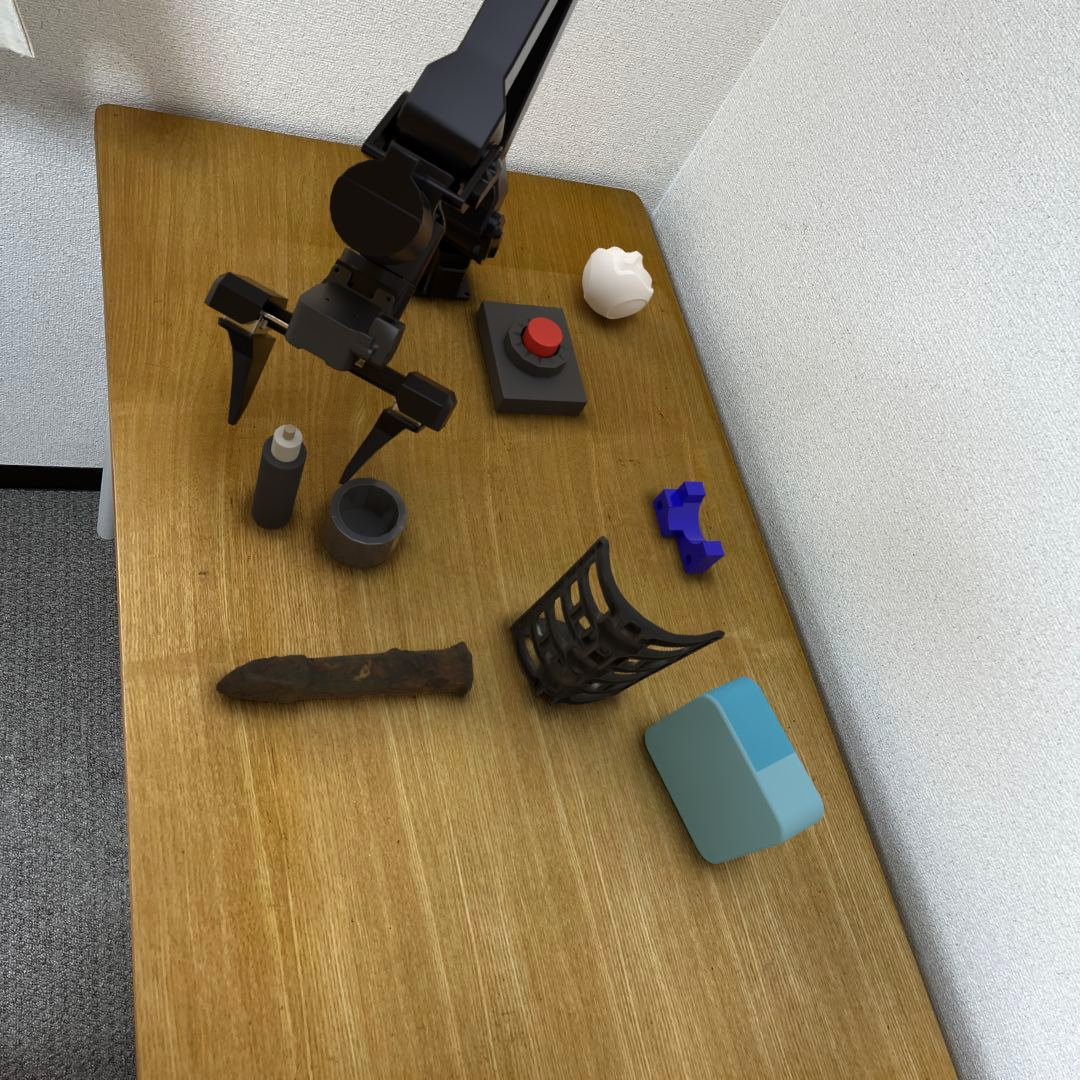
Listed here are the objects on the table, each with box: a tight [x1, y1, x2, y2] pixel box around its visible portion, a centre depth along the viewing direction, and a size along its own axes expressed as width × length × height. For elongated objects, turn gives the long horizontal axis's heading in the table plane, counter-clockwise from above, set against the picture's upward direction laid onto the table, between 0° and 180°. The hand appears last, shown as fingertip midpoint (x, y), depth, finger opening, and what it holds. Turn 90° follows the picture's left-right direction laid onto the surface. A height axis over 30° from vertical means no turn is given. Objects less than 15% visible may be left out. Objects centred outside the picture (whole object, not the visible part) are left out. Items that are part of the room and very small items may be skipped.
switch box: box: [475, 300, 589, 416], centre depth 90 cm, size 12×9×4 cm
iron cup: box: [321, 476, 408, 569], centre depth 74 cm, size 6×6×4 cm
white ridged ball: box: [581, 246, 654, 320], centre depth 97 cm, size 8×8×8 cm
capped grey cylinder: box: [250, 423, 308, 530], centre depth 69 cm, size 3×3×12 cm
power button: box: [522, 317, 562, 357], centre depth 88 cm, size 4×4×2 cm
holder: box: [509, 535, 726, 707], centre depth 69 cm, size 11×8×20 cm
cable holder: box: [652, 480, 725, 575], centre depth 87 cm, size 8×4×4 cm, turn 12°
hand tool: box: [215, 640, 475, 704], centre depth 68 cm, size 19×4×5 cm, turn 99°
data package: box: [644, 676, 825, 865], centre depth 71 cm, size 12×4×12 cm, turn 27°
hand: (287, 454), depth 68 cm, fingers open, 9 cm apart
